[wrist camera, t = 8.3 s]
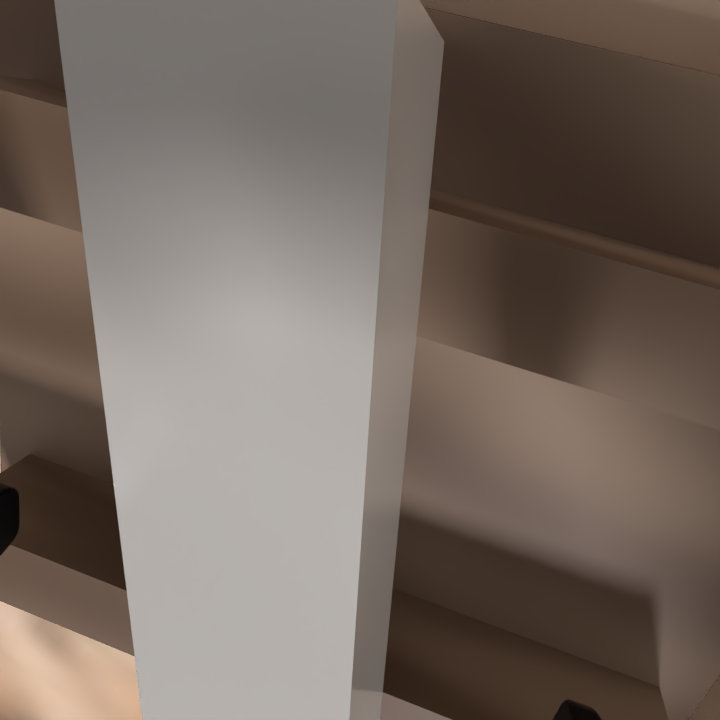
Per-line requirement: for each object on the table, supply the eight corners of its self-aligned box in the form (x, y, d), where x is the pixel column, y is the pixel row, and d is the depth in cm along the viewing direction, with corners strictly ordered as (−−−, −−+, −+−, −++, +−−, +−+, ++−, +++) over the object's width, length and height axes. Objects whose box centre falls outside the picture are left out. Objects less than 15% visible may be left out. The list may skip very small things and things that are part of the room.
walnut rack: (611, 781, 17) (640, 956, 13) (26, 550, 20) (-84, 643, 16) (1034, 159, 10) (1343, 167, 6) (25, -76, 12) (-175, -169, 9)
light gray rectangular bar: (372, 800, 14) (329, 1007, 10) (247, 763, 14) (170, 948, 11) (444, 41, 8) (400, -33, 5) (227, 37, 8) (49, -33, 5)
